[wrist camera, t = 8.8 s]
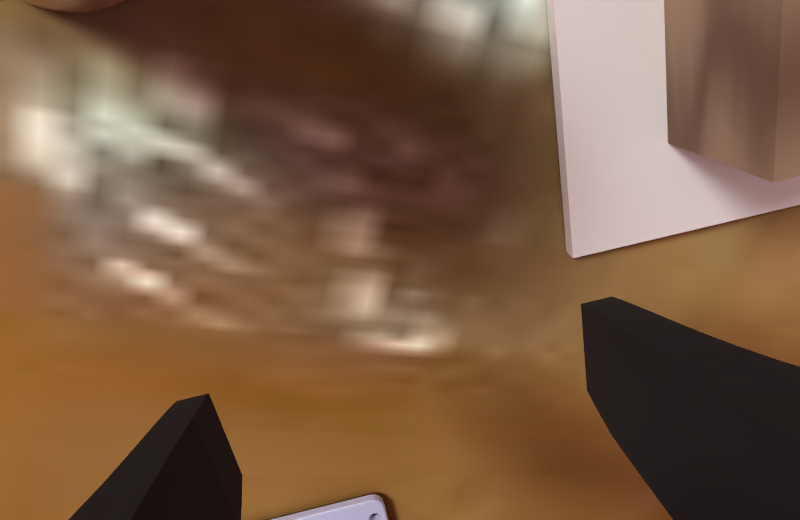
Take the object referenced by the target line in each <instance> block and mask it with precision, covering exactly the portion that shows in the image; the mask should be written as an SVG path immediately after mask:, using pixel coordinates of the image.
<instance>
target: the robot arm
mask: <svg viewBox="0 0 800 520" xmlns="http://www.w3.org/2000/svg"><path fill="white" fill-rule="evenodd" d="M581 311H582V325H583V339H584V353H585V367H586V381H587V391H588V393H589V395H590V397H591V398H592V400H593V402H594V404H595V406H596V408H597V410H598V412H599V414H600V415H601V417H602V419H603V421H604V422H605V424H606V426H607V428H608V430H609V431H610V433H611V435H612V436H613V438H614V439H615V440H616V442H617V443H618V445H619V446H620V447H621V449H622V450H623V452H624V453H625V454H626V456H627V457H628V458H629V460H630V461H631V463H632V464H633V465H634V467H635V468H636V469H637V471H638V472H639V474H640V475H641V476H642V478H643V479H644V480H645V482H646V483H647V484H648V486H649V487H650V488H651V490H652V491H653V493H654V494H655V495H656V497H657V498H658V499H659V501H660V502H661V503H662V505H663V506H664V508H665V509H666V510H667V512H668V513H669V514H670V516H671V517H672V518H673V520H800V367H799V366H795V365H792V364H789V363H786V362H782V361H779V360H776V359H773V358H770V357H767V356H764V355H761V354H758V353H756V352H753V351H750V350H747V349H744V348H741V347H738V346H735V345H733V344H730V343H727V342H725V341H722V340H719V339H717V338H714V337H712V336H709V335H706V334H704V333H701V332H699V331H696V330H694V329H691V328H689V327H686V326H684V325H682V324H679V323H677V322H674V321H672V320H669V319H667V318H665V317H662V316H660V315H657V314H655V313H653V312H650V311H648V310H645V309H643V308H641V307H638V306H636V305H633V304H631V303H628V302H626V301H623V300H620V299H617V298H614V297H608V298H604V299H600V300H596V301H592V302H588V303H583V304H581ZM241 505H242V474H241V471H240V469H239V466H238V464H237V461H236V459H235V457H234V454H233V452H232V449H231V447H230V444H229V442H228V439H227V437H226V434H225V432H224V430H223V427H222V425H221V422H220V420H219V417H218V415H217V412H216V410H215V407H214V405H213V403H212V400H211V398H210V395H209V394H205V395H201V396H197V397H192V398H188V399H184V400H180V401H176V402H175V403H174V404H173V405H172V406H171V407H170V408H169V409H168V410H167V412H166V413H165V414H164V415H163V416H162V417H161V418H160V419H159V420H158V422H157V423H156V424H155V425H154V426H153V427H152V428H151V429H150V431H149V432H148V433H147V434H146V435H145V436H144V438H143V439H142V440H141V441H140V442H139V443H138V444H137V446H136V447H135V448H134V449H133V450H132V451H131V452H130V454H129V455H128V456H127V457H126V458H125V459H124V460H123V462H122V463H121V464H120V465H119V466H118V467H117V468H116V469H115V471H114V472H113V473H112V474H111V475H110V476H109V477H108V479H107V480H106V481H105V482H104V483H103V484H102V485H101V486H100V487H99V488H98V489H97V490H96V491H95V493H94V494H93V495H92V496H91V497H90V498H89V499H88V500H87V501H86V502H85V503H84V504H83V505H82V506H81V507H80V508H79V509H78V510H77V511H76V512H75V514H74V515H73V516H72V517H71V518H70V519H69V520H241ZM375 513H377V515H372V514H375ZM271 520H389V519H388V516H387V512H386V508H385V505H384V501H383V499H382V497H380V496H379V495H375V494H373V495H367V496H363V497H359V498H355V499H351V500H347V501H343V502H339V503H335V504H331V505H327V506H323V507H319V508H315V509H311V510H307V511H303V512H299V513H295V514H291V515H287V516H283V517H279V518H275V519H271Z"/></svg>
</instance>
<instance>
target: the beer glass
mask: <svg viewBox="0 0 800 520" xmlns="http://www.w3.org/2000/svg"><path fill="white" fill-rule="evenodd" d="M2 1H5V0H0V2H2ZM20 1H23V2H26V3H29V4H31V5H34V6H37V7H41V8H45V9H49V10H54V11H61V12H90V11H96V10H101V9H105V8H108V7H111V6H114V5H116V4H118V3H120V2H122V1H124V0H20Z"/></svg>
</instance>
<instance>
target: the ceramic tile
mask: <svg viewBox="0 0 800 520" xmlns="http://www.w3.org/2000/svg"><path fill="white" fill-rule="evenodd" d="M546 1H547V14H548V26H549V39H550V51H551V64H552V77H553V89H554V102H555V114H556V127H557V139H558V152H559V165H560V177H561V190H562V202H563V215H564V227H565V240H566V252H567V253H568V254H569V255H570V256H571V257H572V258H577V257H581V256H585V255H589V254H594V253H598V252H602V251H606V250H611V249H615V248H619V247H623V246H628V245H632V244H636V243H640V242H644V241H649V240H653V239H657V238H661V237H666V236H670V235H674V234H678V233H682V232H687V231H691V230H695V229H699V228H704V227H708V226H712V225H716V224H721V223H725V222H729V221H733V220H737V219H742V218H746V217H750V216H754V215H759V214H763V213H767V212H771V211H775V210H780V209H784V208H788V207H792V206H797V205H800V176H797V177H794V178H790V179H786V180H782V181H778V182H775V183H772V182H770V181H767V180H764V179H762V178H759V177H756V176H754V175H751V174H748V173H746V172H743V171H741V170H738V169H735V168H733V167H730V166H727V165H725V164H722V163H719V162H717V161H714V160H711V159H709V158H706V157H703V156H701V155H698V154H695V153H693V152H690V151H687V150H685V149H682V148H679V147H677V146H674V145H671V144H669V143H668V128H667V92H666V56H665V19H664V0H546Z"/></svg>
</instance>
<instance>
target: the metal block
mask: <svg viewBox="0 0 800 520" xmlns="http://www.w3.org/2000/svg"><path fill="white" fill-rule="evenodd" d="M664 19H665V56H666V92H667V128H668V143H669V144H671V145H674V146H677V147H679V148H682V149H685V150H687V151H690V152H693V153H695V154H698V155H701V156H703V157H706V158H709V159H711V160H714V161H717V162H719V163H722V164H725V165H727V166H730V167H733V168H735V169H738V170H741V171H743V172H746V173H748V174H751V175H754V176H756V177H759V178H762V179H764V180H767V181H770V182H772V183H775V182H778V181H782V180H786V179H790V178H794V177H797V176H800V0H664Z"/></svg>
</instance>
